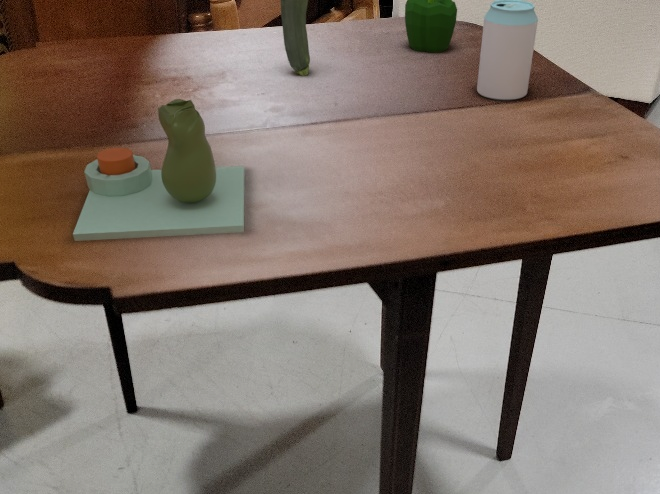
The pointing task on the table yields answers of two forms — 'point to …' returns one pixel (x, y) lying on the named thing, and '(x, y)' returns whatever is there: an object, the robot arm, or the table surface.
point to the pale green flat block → (157, 205)
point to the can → (507, 49)
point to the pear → (186, 153)
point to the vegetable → (296, 34)
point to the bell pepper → (430, 24)
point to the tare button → (116, 161)
